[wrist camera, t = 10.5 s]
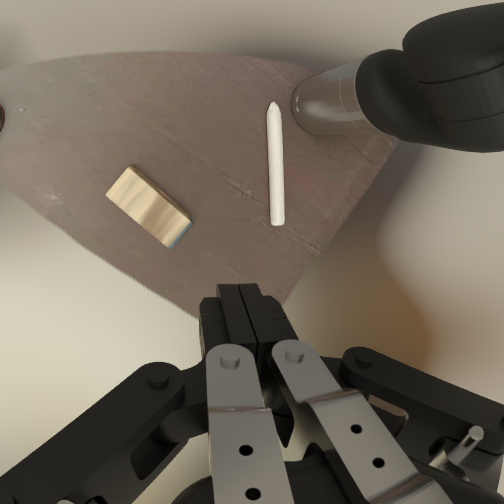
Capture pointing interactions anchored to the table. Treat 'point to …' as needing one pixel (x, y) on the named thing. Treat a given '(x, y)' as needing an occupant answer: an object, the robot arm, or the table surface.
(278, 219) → the marker
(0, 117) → the supplement bottle
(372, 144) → the table surface
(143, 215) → the beech block
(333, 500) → the robot arm
